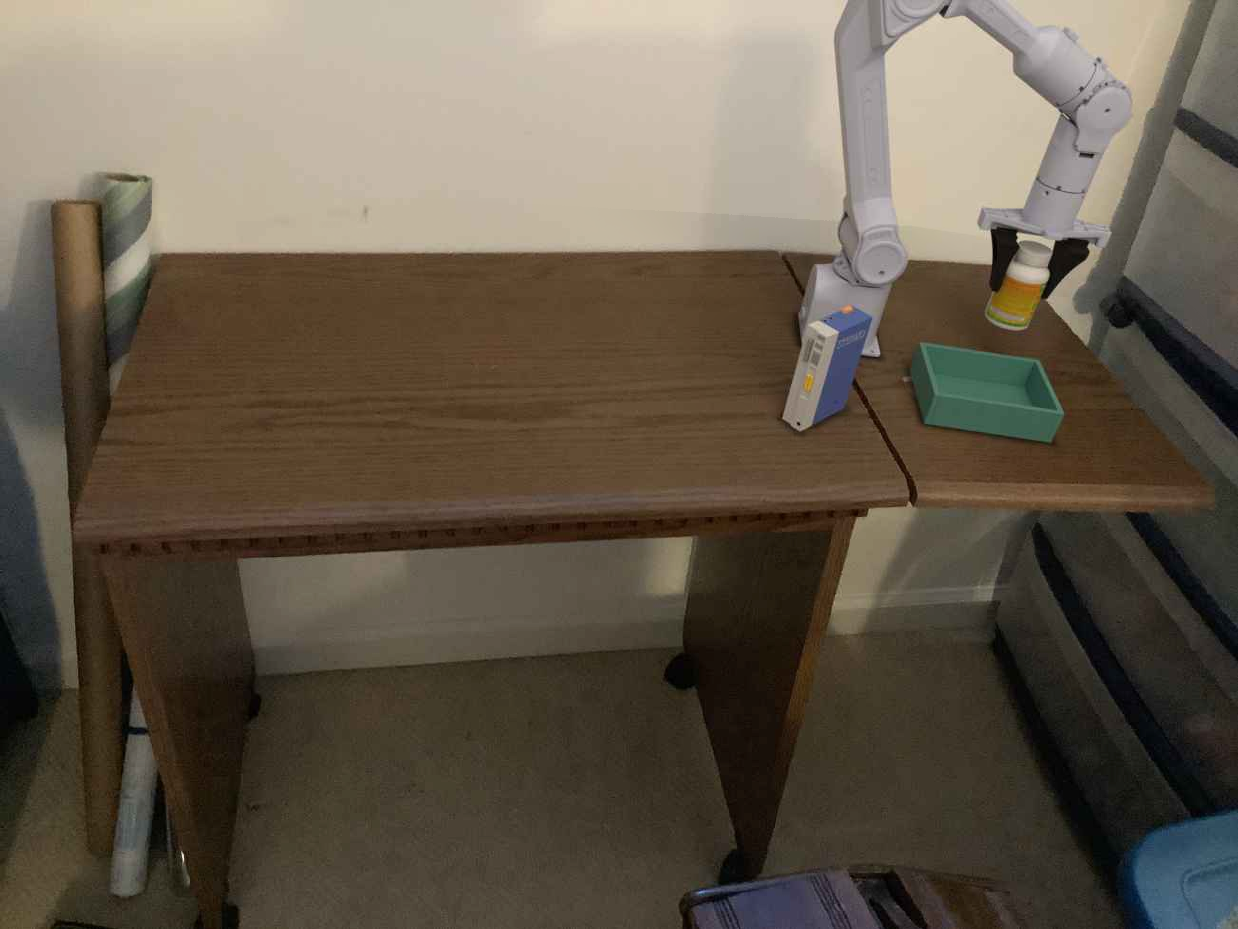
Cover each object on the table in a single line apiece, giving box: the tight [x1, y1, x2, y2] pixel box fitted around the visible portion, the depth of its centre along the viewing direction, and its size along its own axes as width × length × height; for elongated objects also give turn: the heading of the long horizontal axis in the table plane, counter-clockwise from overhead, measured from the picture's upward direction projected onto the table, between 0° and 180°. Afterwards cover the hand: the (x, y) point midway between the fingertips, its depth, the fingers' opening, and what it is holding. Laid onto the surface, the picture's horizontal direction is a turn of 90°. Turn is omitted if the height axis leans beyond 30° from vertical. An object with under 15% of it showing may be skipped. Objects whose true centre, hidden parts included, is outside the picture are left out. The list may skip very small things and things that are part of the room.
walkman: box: [781, 306, 873, 432], centre depth 106 cm, size 8×3×12 cm, turn 133°
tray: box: [908, 341, 1065, 444], centre depth 115 cm, size 14×11×4 cm
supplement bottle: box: [984, 239, 1053, 332], centre depth 120 cm, size 5×5×10 cm
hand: (1017, 291), depth 121 cm, fingers closed on supplement bottle, 5 cm apart
